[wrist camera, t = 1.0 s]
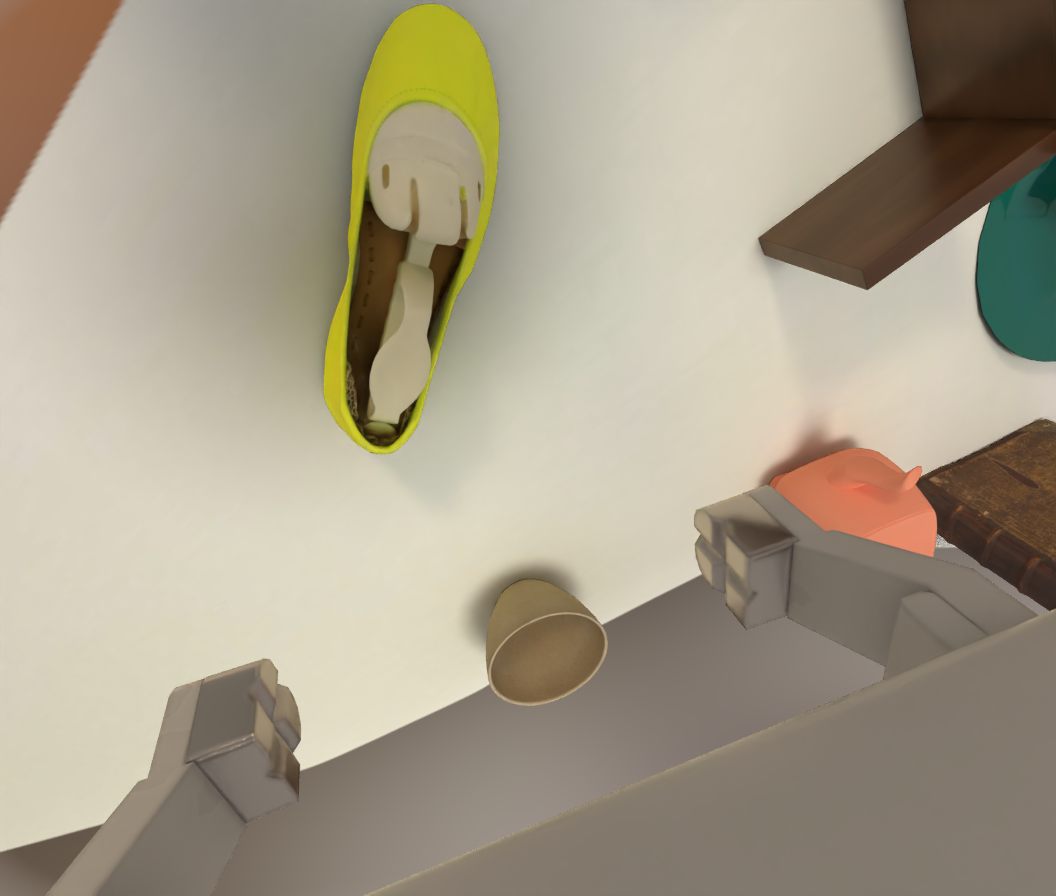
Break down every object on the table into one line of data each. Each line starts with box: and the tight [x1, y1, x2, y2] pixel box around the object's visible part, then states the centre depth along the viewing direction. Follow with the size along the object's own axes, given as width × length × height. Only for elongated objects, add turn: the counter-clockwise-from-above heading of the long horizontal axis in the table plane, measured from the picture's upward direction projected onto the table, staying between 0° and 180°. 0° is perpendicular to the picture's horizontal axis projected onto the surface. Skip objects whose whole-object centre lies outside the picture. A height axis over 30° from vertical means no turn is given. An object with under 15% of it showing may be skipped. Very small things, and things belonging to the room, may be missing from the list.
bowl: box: [486, 579, 608, 706], centre depth 51 cm, size 10×10×7 cm
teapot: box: [769, 448, 937, 557], centre depth 53 cm, size 20×12×12 cm, turn 14°
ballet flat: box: [323, 4, 500, 454], centre depth 33 cm, size 8×24×8 cm, turn 162°
